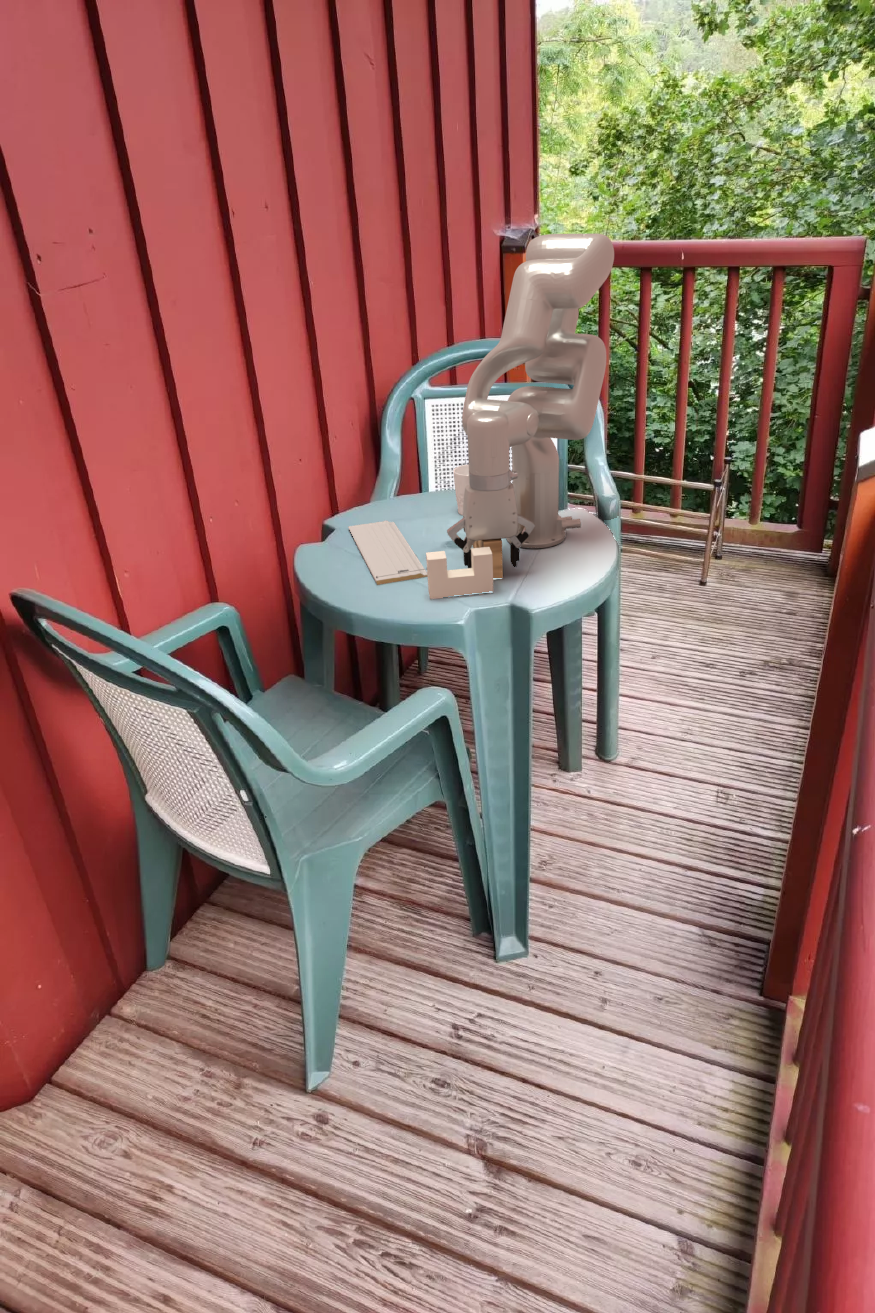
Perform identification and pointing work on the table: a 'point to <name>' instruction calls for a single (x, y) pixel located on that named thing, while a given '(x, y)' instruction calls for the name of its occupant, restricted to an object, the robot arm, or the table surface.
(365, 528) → the baseboard molding
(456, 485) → the white cup
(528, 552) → the table surface
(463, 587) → the cream upright board
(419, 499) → the table surface
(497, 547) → the oak slotted board
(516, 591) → the table surface
